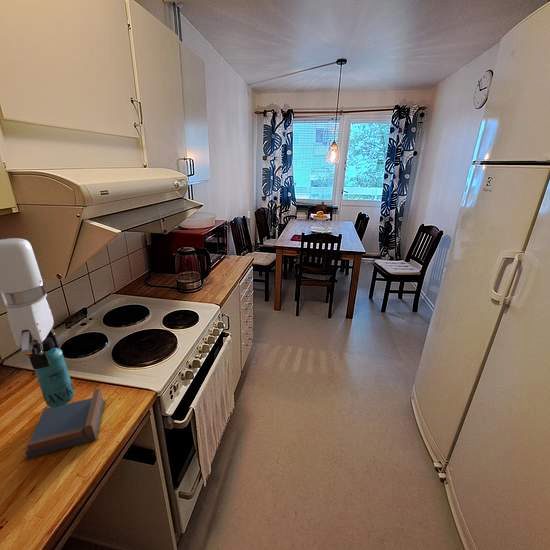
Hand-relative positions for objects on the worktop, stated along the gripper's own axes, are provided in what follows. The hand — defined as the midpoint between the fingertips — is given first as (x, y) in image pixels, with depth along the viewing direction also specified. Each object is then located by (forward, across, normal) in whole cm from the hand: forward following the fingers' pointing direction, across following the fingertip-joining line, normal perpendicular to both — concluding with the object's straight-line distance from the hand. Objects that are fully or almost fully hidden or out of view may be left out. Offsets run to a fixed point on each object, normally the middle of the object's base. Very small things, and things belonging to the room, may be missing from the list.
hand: (46, 357), depth 71 cm
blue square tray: (+25, 0, 0) cm, 25 cm away
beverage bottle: (+15, 0, 0) cm, 15 cm away
